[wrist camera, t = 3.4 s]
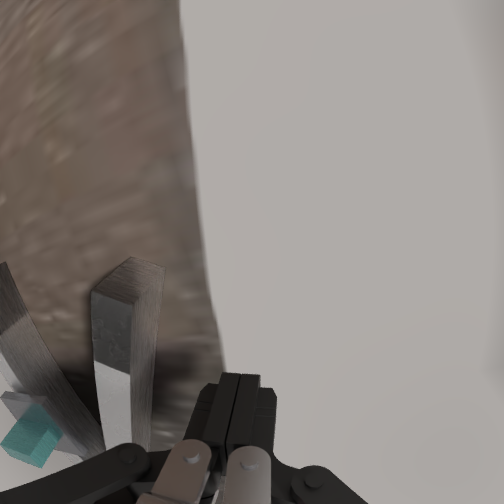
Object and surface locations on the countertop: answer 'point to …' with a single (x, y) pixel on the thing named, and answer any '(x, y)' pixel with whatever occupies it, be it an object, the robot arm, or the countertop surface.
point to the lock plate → (38, 430)
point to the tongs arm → (126, 349)
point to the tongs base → (40, 368)
